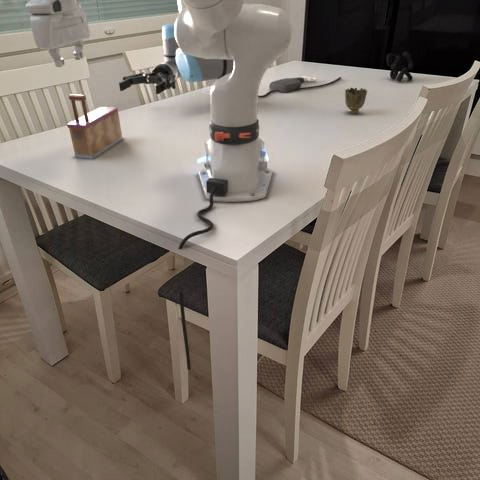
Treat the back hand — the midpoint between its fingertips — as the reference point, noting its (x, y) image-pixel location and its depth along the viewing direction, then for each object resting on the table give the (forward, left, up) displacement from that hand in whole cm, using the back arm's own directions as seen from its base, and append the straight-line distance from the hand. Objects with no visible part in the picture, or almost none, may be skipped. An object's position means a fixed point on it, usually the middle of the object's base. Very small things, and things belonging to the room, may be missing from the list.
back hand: (138, 88), depth 151 cm
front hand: (+31, +15, +14) cm, 38 cm away
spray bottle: (-72, +14, -11) cm, 74 cm away
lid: (+26, +13, -2) cm, 29 cm away
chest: (+26, +13, -11) cm, 31 cm away
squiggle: (-110, +45, -11) cm, 119 cm away
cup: (-52, +54, -11) cm, 76 cm away
